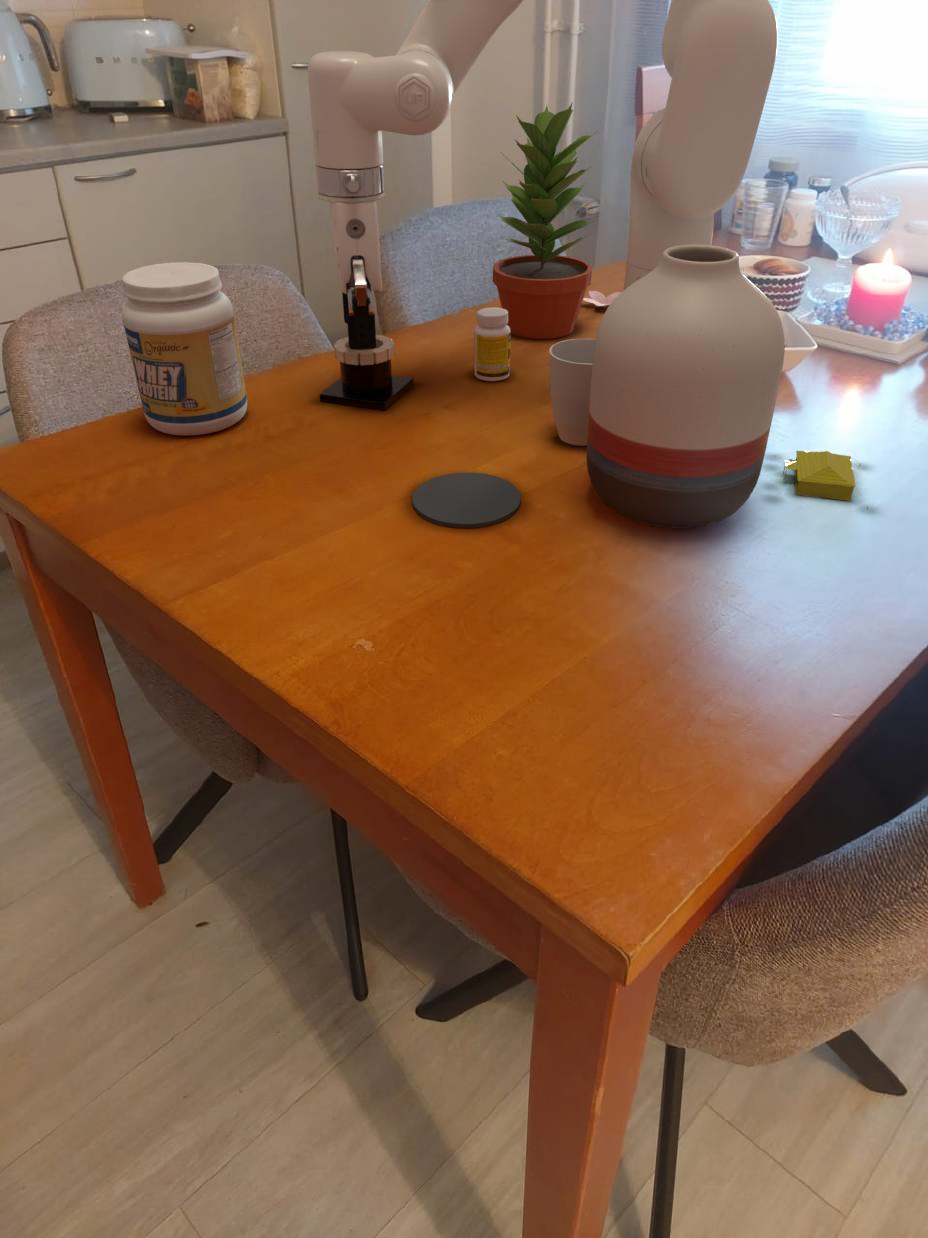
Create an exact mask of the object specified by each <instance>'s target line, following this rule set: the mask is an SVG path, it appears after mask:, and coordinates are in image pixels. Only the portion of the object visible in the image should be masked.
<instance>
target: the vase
mask: <svg viewBox="0 0 928 1238" xmlns="http://www.w3.org/2000/svg"><path fill="white" fill-rule="evenodd" d="M739 255H740V254H739V253H738V252H736V251H734V250H732V249H730V248H727V247H722V246H717V245H680V246H674V247H670V248H668V249H666V250H665V251H664V252H663V254H662V258H661V261H660V263H659V265H658V267H657V268H655V269H654V270H653V271H651V272H650V273H649V274H647V275H646V276H644V277H642V278H641V279H639V280H638V281H636V282H635V283H633V284H632V285H630V286H629V287H628V288H626V289H625V290H624V289H623V290H622V291H621V292H622V293H620V294H619V295H618V296H617V297H616V298H615V299H614V300H613V301H612V303H611V304H610V305H608V306H607V309H606V310H605V313H604V314H603V316H602V318H601V321H600V323H599V326H598V329H597V332H596V336H595V339H596V340H595V346H594V354H593V365H592V379H591V392H590V406H589V420H588V435H587V446H586V469H587V473H588V474H587V475H588V478H589V481H590V484H591V486H592V488H593V491H594V493H595V494H596V496H597V497H598V498H599V500H600V501H601V502H602V503H603V504H604V505H605V506H606V507H608V508H609V509H610V510H611V511H613V512H615V513H616V514H619V515H620V516H622V517H624V518H626V519H629V520H631V521H634V522H636V523H641V524H644V525H647V526H654V527H659V528H669V529H670V528H671V529H689V528H697V527H702V526H708V525H712V524H715V523H718V522H721V521H723V520H724V519H727V518H729V517H730V516H732V515H734V514H735V513H736V512H738V511H739V510H740V509H741V508H742V507H743V506H744V505H745V503H746V502H747V501H748V500H749V498H750V497H751V495H752V494H753V492H754V490H755V488H756V485H757V484H758V481H759V478H760V475H761V472H762V467H763V464H764V460H765V455H766V450H767V446H768V442H769V438H770V432H771V427H772V423H773V418H774V412H775V408H776V403H777V398H778V394H779V388H780V383H781V379H782V373H783V368H784V367H783V366H784V362H785V361H784V360H785V353H786V350H785V348H786V346H785V345H786V344H785V342H786V341H785V340H786V339H785V333H784V332H785V331H784V326H783V323H782V318H781V317H780V314H779V312H778V309H777V308H776V307H775V305H774V303H772V301H771V300H770V299H769V297H768V296H767V295H766V294H765V293H764V292H763V291H762V290H761V289H760V288H759V287H758V286H757V285H755V284H754V283H753V282H752V281H751V280H750V279H748V277H747V276H745V274H744V273H743V272H742V271H741V268H740V256H739Z"/></svg>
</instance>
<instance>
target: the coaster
mask: <svg viewBox="0 0 928 1238" xmlns="http://www.w3.org/2000/svg"><path fill="white" fill-rule="evenodd" d="M411 504H412V509H413V510H414V511H415V513H416V514H417V515H418V516H419V517H421V518H422V519H423V520H426V521H428V522H430V523H432V524H436V525H439V526H443V527H448V528H455V529H457V528H458V529H475V528H477V529H478V528H484V527H489V526H493V525H496V524H499V523H502V522H504V521H506V520H509V519H510V518H511V517H513V516H514V515H515V514H516V513H517V512H518V511H519V509H520V507H521V504H522V495H521V492H520V490H519V489H518V487H517V486H516V485H515V484H513V483H512V482H510V481H508V480H506V479H505V478H502V477H499V476H496V475H494V474H493V475H492V474H488V473H483V472H482V473H481V472H454V473H453V472H452V473H447V474H442V475H439V476H434V477H432V478H430V479H428V480H426V481H424V482H422V483H421V484H420V485H418V487H416V489H415V490H414V491H413V493H412V496H411Z"/></svg>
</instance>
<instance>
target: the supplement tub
mask: <svg viewBox="0 0 928 1238" xmlns="http://www.w3.org/2000/svg"><path fill="white" fill-rule="evenodd" d="M122 283H123V295H124V296H125V297H126V298H127V301H126V302H125V303H124V305H123V307H122V311H121V317H122V318H121V319H122V323H123V328H124V331H125V336H126V341H127V346H128V350H129V354H130V359H131V362H132V367H133V372H134V375H135V381H136V384H137V388H138V394H139V397H140V402H141V407H142V411H143V412H142V413H143V415H144V417H145V420H146V421H147V423H148V424H149V425H150V426H151V428H153V429H155V430H157V431H159V432H160V433H163V434H167V435H171V436H182V437H183V436H187V437H188V436H190V437H191V436H202V435H208V434H212V433H215V432H220V431H222V430H225V429H227V428H229V427H231V426H233V425H236V424H237V423H238V422H240V421H241V420H242V418H243V417H244V416H245V415H246V412H247V409H248V398H247V391H246V384H245V380H244V378H245V377H244V372H243V371H244V370H243V365H242V359H241V353H240V352H241V351H240V345H239V340H238V332H237V326H236V321H235V314H234V307H233V304H232V302H231V300H230V299H229V297H228V296H227V294H225V293H224V292H223V291H221V289H222V288H223V284H222V281H221V278H220V273H219V269H218V268H217V267H216V266H213V265H209V264H206V263H201V262H185V261H183V262H163V263H156V264H149V265H144V266H141V267H138V268H135V269H132V270H130V271H127V272H126V273H125V274H124V275H123V276H122Z"/></svg>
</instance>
